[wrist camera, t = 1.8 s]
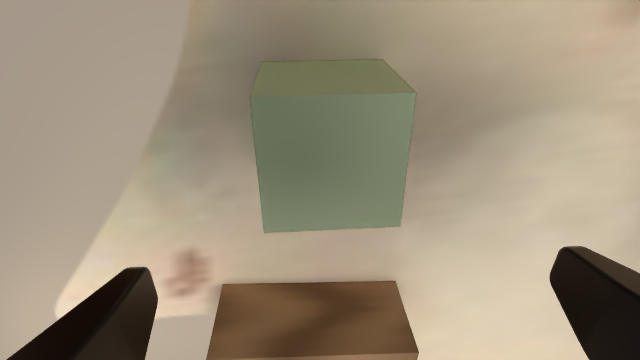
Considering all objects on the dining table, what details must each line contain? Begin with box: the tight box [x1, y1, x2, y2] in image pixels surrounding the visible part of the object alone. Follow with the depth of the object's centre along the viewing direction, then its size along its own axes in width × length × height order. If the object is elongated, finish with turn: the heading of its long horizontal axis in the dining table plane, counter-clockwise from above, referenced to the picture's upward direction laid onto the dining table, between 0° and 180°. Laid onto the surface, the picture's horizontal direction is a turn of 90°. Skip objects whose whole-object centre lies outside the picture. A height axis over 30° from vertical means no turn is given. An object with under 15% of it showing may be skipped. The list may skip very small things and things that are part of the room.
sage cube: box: [250, 59, 416, 233], centre depth 14 cm, size 5×5×5 cm
